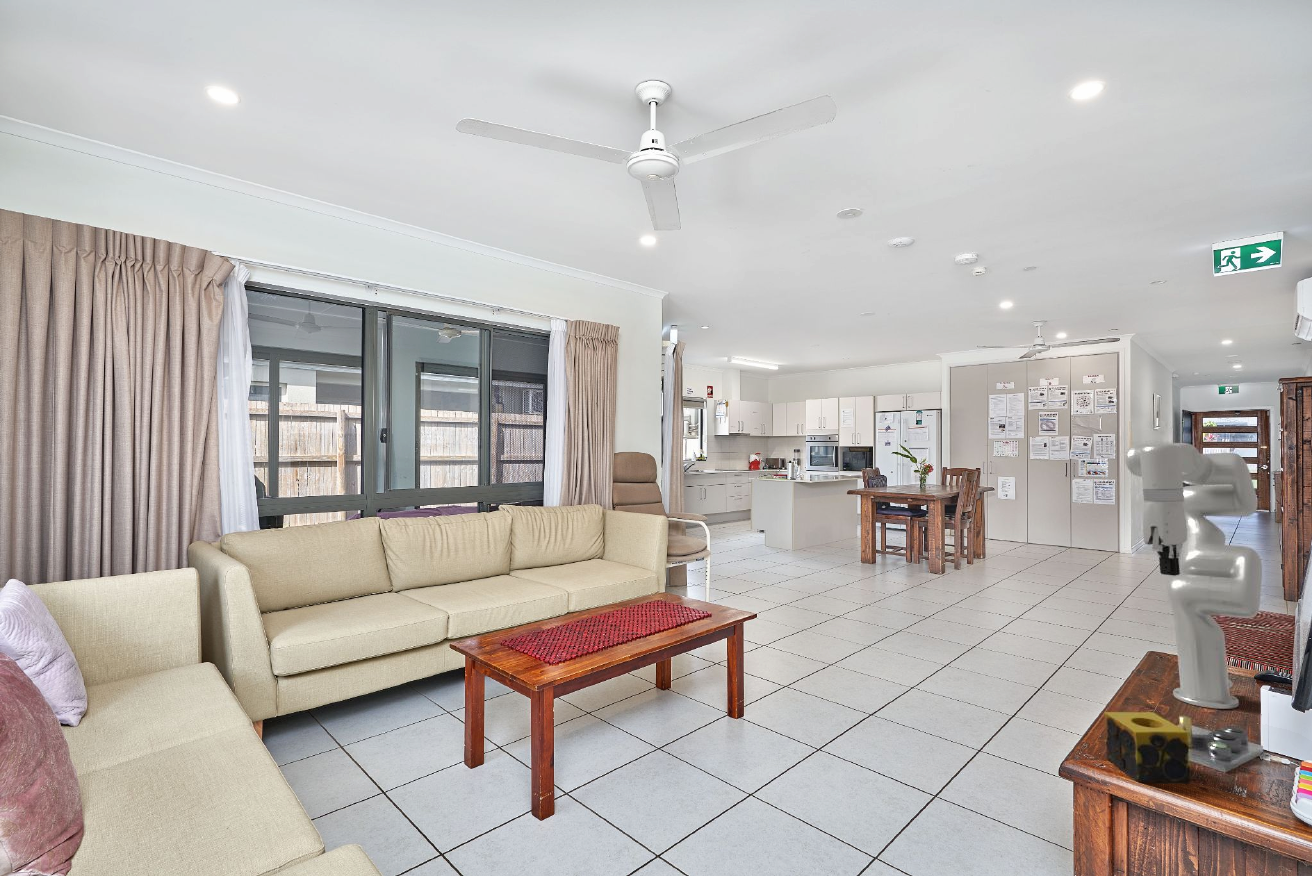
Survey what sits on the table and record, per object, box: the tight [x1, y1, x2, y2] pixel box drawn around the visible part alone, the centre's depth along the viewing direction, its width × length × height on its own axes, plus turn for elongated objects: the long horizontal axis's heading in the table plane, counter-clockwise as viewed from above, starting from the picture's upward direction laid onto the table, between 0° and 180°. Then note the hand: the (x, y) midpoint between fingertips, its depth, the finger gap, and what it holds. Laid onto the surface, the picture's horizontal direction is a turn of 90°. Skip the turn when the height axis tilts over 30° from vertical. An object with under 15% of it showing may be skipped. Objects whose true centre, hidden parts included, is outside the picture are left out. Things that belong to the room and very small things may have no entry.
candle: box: [1103, 711, 1192, 784], centre depth 127 cm, size 10×10×10 cm
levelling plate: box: [1176, 724, 1264, 774], centre depth 135 cm, size 16×14×4 cm
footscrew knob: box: [1178, 715, 1241, 752], centre depth 133 cm, size 10×5×6 cm, turn 79°
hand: (1170, 574), depth 148 cm, fingers closed
